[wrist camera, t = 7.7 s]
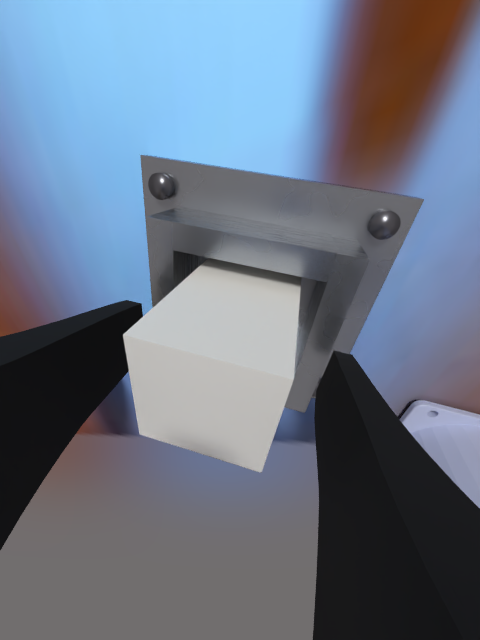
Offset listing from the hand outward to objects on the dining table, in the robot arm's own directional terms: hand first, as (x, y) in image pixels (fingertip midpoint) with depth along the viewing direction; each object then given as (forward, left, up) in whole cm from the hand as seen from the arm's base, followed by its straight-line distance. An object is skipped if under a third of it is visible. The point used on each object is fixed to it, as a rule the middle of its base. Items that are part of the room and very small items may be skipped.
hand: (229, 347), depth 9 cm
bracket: (0, 0, -5) cm, 5 cm away
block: (0, 0, -4) cm, 4 cm away
